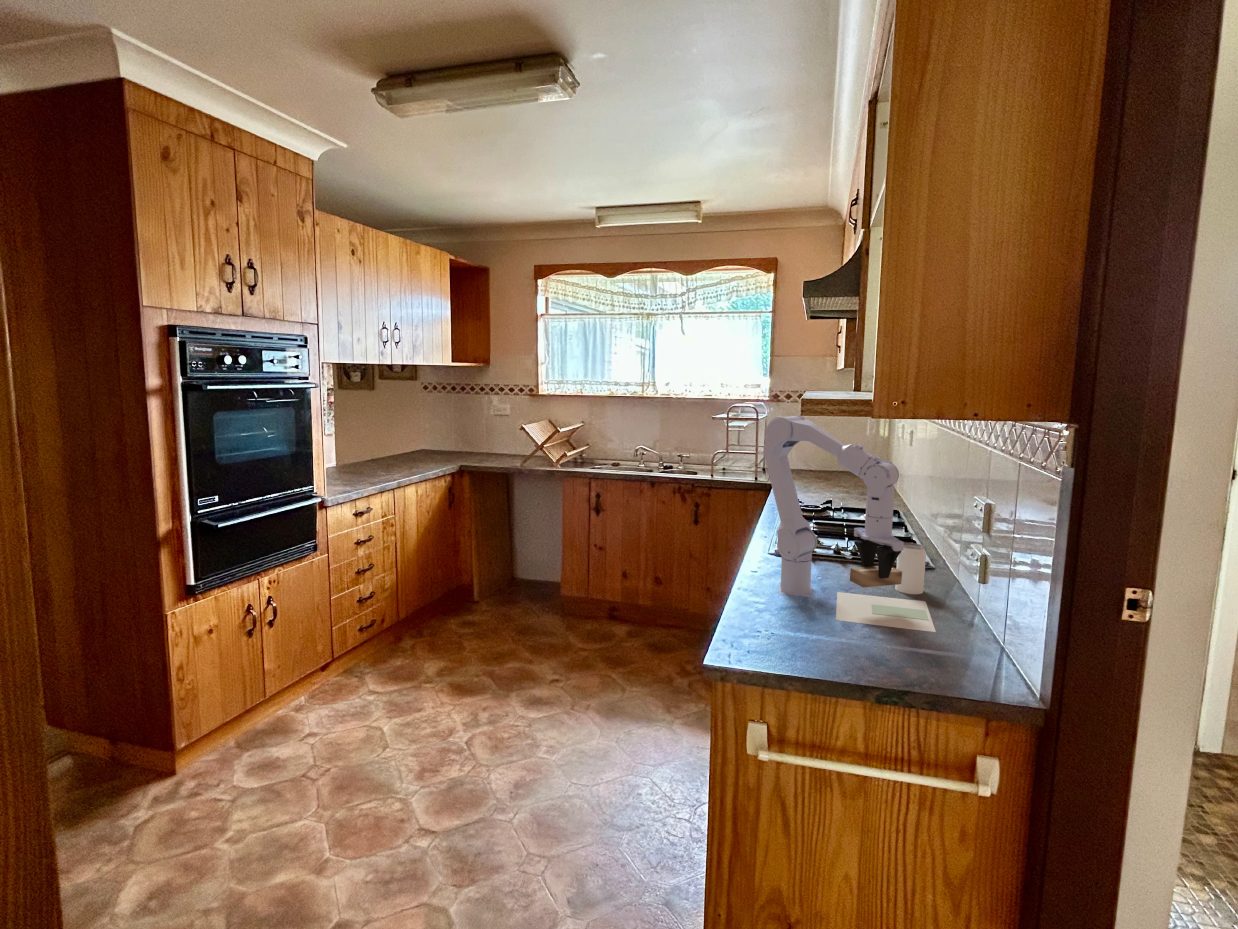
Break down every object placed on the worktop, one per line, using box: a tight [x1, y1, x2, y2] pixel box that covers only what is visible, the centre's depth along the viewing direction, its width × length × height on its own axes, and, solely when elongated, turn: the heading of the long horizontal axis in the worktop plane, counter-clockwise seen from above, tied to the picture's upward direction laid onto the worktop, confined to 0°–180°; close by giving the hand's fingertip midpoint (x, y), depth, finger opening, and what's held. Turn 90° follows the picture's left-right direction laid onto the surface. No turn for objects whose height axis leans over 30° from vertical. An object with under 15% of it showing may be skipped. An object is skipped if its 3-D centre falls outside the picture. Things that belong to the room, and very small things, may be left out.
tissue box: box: [849, 565, 902, 588], centre depth 151 cm, size 10×5×3 cm, turn 106°
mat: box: [835, 591, 936, 633], centre depth 152 cm, size 20×20×1 cm
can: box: [894, 542, 927, 595], centre depth 165 cm, size 6×6×12 cm
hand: (875, 574), depth 151 cm, fingers closed on tissue box, 5 cm apart
